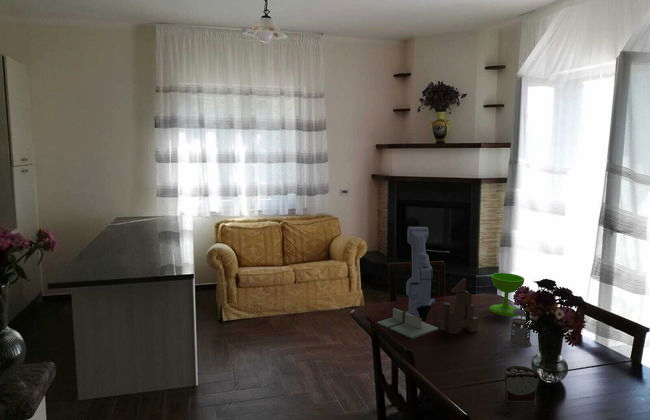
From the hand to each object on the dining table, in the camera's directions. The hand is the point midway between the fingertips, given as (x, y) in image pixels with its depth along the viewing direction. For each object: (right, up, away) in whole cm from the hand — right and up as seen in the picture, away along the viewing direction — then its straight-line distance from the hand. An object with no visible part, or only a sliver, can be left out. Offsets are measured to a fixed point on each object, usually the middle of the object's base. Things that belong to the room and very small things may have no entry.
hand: (422, 320), depth 224 cm
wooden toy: (+16, -4, -4) cm, 17 cm away
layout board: (-7, -3, 0) cm, 8 cm away
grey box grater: (+39, -6, -15) cm, 43 cm away
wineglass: (+48, -1, +24) cm, 53 cm away
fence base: (-10, -1, +5) cm, 12 cm away
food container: (+20, -12, -61) cm, 65 cm away
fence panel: (-5, -2, -2) cm, 5 cm away
